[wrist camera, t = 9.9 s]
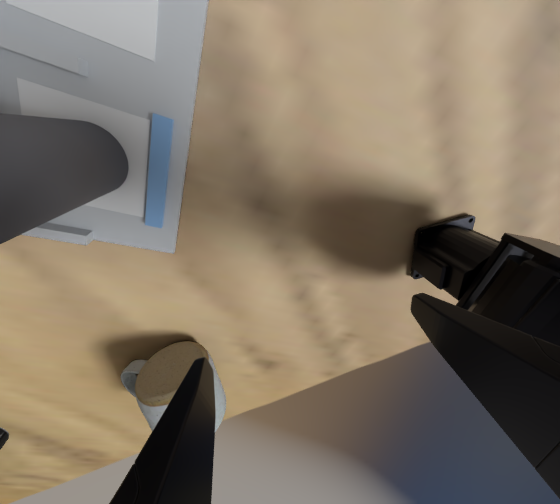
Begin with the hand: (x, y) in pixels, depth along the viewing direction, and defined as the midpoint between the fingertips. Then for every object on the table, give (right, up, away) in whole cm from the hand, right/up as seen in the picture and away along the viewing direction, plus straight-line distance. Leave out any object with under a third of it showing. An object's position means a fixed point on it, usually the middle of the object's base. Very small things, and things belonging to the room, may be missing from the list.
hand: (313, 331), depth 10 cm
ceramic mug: (-14, -10, +18) cm, 25 cm away
